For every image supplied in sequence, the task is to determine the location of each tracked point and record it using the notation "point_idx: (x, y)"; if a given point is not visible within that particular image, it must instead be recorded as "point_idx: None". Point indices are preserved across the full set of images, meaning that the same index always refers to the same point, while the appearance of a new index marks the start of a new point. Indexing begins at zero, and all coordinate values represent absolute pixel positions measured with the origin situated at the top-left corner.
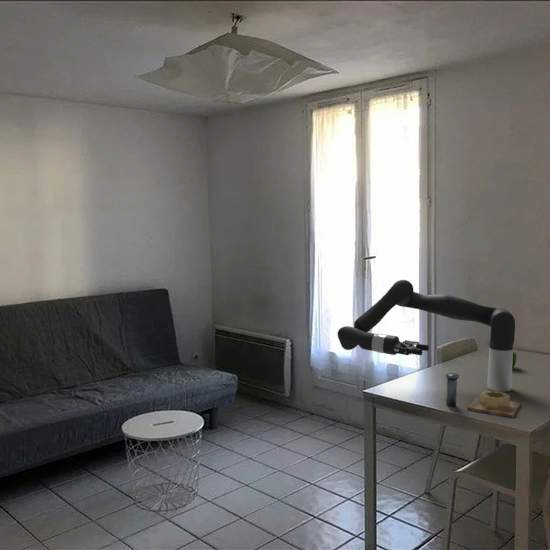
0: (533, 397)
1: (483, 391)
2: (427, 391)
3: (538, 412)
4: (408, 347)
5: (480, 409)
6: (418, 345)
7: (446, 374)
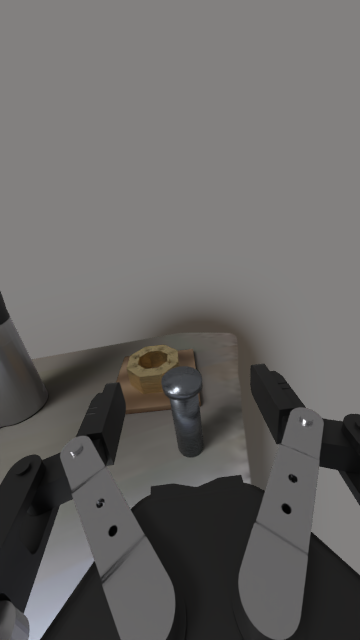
0: (75, 360)
1: (139, 376)
2: (65, 593)
3: (149, 342)
4: (313, 440)
5: None
6: (99, 448)
7: (189, 389)
